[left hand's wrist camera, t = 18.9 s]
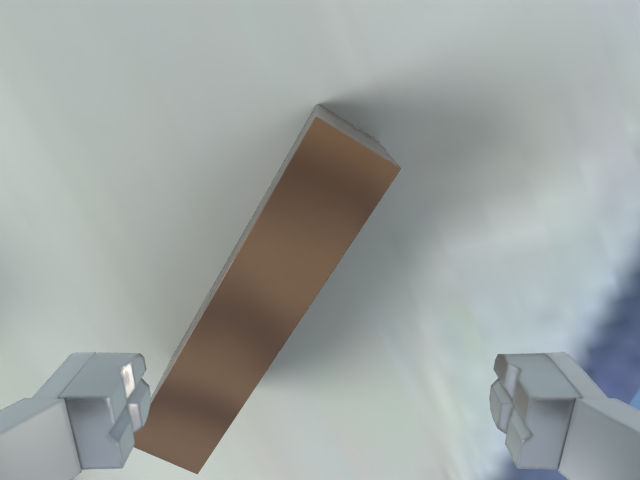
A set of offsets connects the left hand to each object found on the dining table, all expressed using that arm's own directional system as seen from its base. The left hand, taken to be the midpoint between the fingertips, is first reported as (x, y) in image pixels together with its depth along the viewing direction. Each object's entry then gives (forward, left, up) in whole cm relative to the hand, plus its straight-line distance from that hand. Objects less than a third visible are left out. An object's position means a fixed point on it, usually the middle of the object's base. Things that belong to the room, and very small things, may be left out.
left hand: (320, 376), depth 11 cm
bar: (+4, +7, -23) cm, 24 cm away
